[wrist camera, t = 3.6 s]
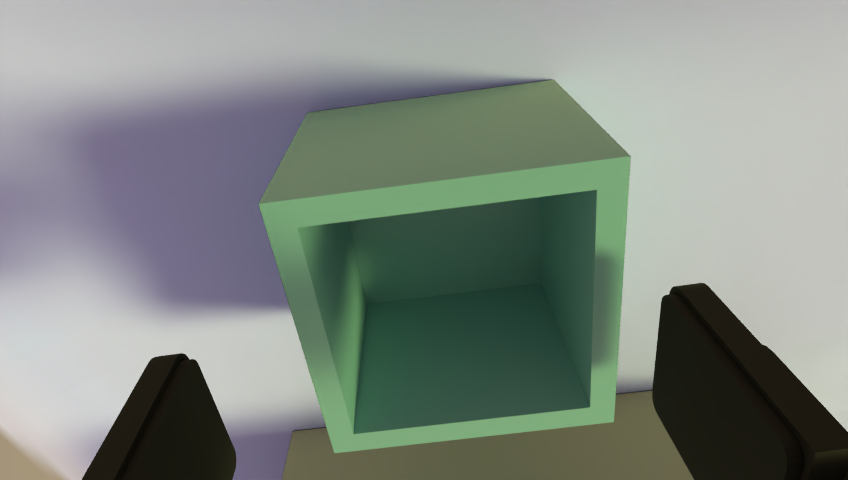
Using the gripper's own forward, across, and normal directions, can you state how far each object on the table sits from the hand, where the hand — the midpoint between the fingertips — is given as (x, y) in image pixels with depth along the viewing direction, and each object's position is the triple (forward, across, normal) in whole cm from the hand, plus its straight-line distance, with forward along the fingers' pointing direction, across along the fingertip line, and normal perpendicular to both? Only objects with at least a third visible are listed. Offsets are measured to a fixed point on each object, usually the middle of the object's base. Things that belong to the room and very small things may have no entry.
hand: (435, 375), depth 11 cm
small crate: (+7, -1, 0) cm, 7 cm away
